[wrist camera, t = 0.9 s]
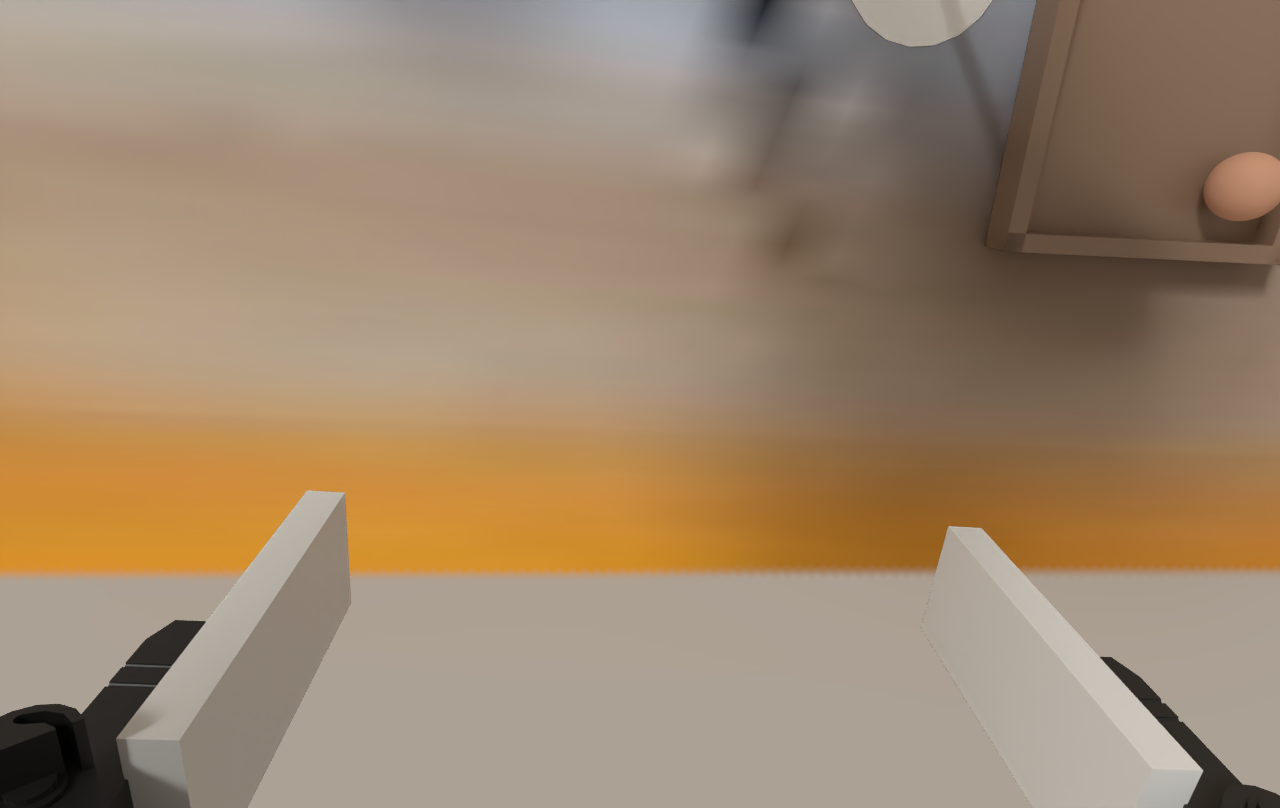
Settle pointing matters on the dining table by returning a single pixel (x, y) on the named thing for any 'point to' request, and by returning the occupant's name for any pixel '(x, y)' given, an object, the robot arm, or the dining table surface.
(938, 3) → the wineglass
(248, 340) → the dining table surface
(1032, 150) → the tray
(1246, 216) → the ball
